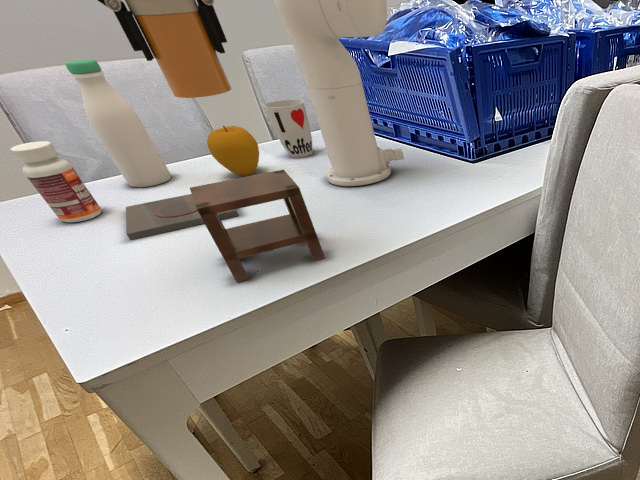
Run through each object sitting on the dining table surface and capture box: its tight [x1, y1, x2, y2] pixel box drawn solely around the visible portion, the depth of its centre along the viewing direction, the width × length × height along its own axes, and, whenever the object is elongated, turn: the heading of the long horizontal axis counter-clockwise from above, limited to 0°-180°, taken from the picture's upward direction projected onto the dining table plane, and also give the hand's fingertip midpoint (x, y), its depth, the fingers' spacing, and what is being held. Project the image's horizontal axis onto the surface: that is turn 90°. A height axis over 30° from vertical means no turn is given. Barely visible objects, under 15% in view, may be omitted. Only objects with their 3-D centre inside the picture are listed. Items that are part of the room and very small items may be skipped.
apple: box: [206, 124, 260, 177], centre depth 91 cm, size 9×9×9 cm
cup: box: [262, 99, 314, 158], centre depth 100 cm, size 8×8×10 cm
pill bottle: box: [10, 140, 103, 223], centre depth 75 cm, size 6×6×11 cm
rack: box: [189, 168, 326, 283], centre depth 62 cm, size 12×9×10 cm
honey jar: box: [124, 0, 232, 99], centre depth 49 cm, size 6×6×8 cm
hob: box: [125, 193, 239, 241], centre depth 78 cm, size 16×14×1 cm
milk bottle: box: [64, 58, 172, 188], centre depth 84 cm, size 8×8×20 cm
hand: (185, 53), depth 49 cm, fingers closed on honey jar, 6 cm apart
